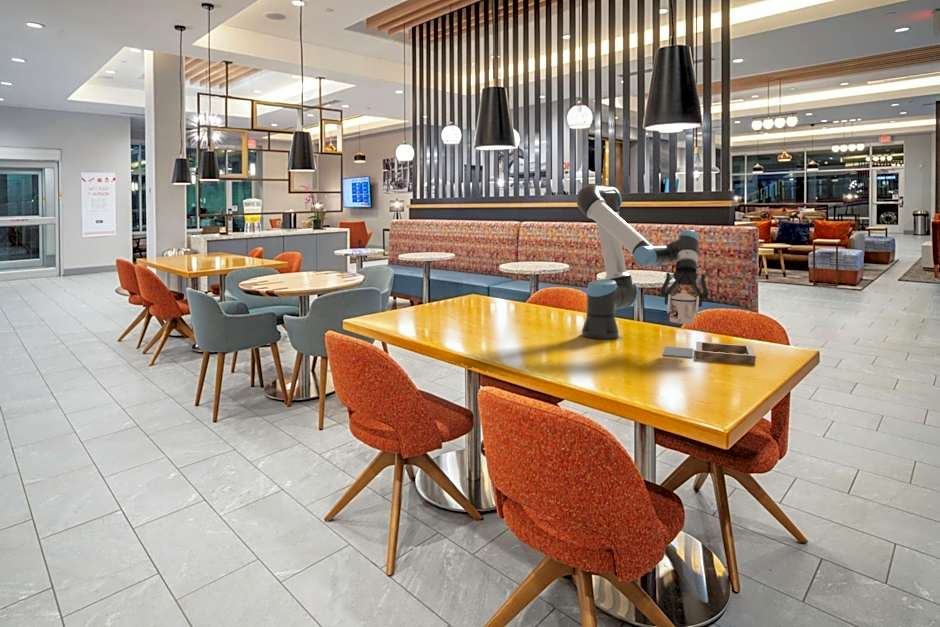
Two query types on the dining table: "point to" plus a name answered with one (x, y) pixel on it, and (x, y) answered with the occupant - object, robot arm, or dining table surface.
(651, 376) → the dining table surface
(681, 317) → the teacup with lid
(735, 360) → the walnut board
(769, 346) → the dining table surface
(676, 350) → the charcoal rubber mat
